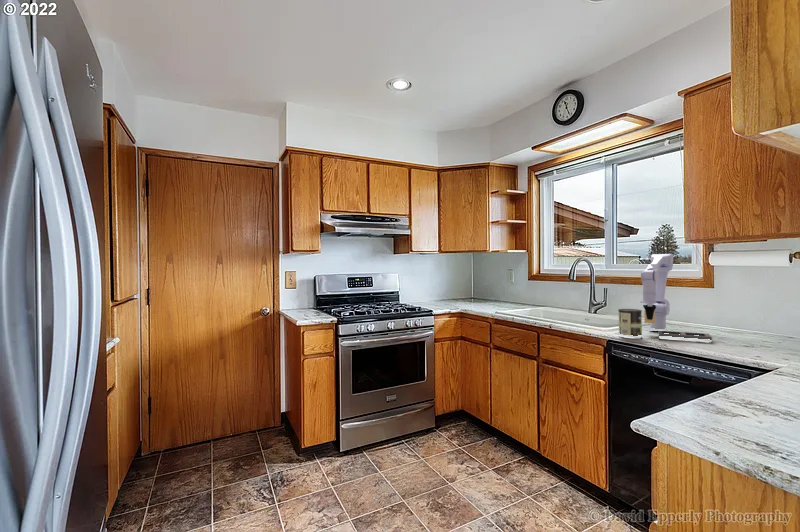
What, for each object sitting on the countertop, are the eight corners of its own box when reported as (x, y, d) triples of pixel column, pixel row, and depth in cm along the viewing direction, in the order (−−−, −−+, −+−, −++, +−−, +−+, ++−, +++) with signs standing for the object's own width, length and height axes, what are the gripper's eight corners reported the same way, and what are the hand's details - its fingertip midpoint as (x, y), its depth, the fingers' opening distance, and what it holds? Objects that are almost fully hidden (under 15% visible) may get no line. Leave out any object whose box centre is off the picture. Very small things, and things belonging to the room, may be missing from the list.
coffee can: (641, 336, 198) (641, 309, 198) (642, 340, 189) (641, 311, 189) (618, 334, 204) (618, 308, 204) (618, 338, 195) (617, 310, 195)
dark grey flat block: (658, 336, 198) (658, 330, 198) (708, 339, 187) (708, 333, 187) (659, 339, 190) (659, 333, 190) (712, 343, 179) (711, 337, 179)
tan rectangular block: (644, 321, 205) (644, 310, 205) (654, 322, 203) (654, 310, 203) (644, 322, 201) (644, 311, 201) (654, 323, 199) (654, 311, 199)
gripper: (640, 291, 210) (640, 316, 210) (640, 293, 198) (640, 320, 198) (655, 292, 207) (656, 317, 207) (656, 294, 194) (657, 321, 194)
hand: (649, 318), depth 202 cm, fingers closed on tan rectangular block, 4 cm apart
